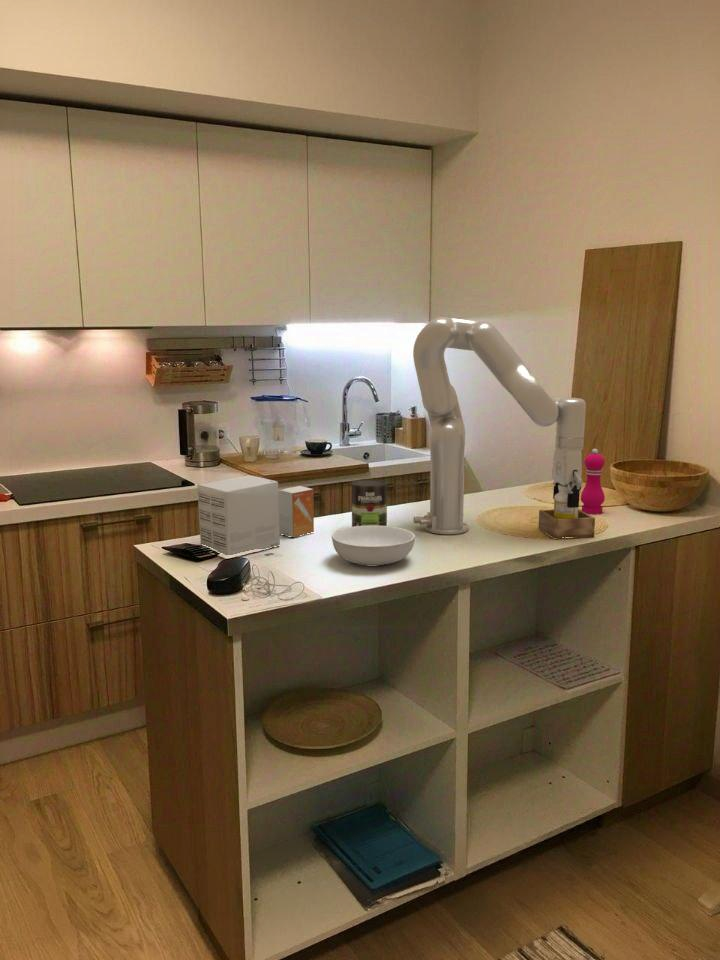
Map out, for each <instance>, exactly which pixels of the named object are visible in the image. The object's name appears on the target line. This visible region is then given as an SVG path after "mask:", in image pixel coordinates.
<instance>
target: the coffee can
mask: <svg viewBox="0 0 720 960" xmlns="http://www.w3.org/2000/svg"><path fill="white" fill-rule="evenodd" d="M350 486H351V527H355V526H367V525H377V526H388V523H387V522H388V519H387V518H388V509H387V508H388V482H387V481H385V480H382V479H375V478H368V479H367V478H365V479H364V478H363V479H362V478H361V479H356V480H352V481H351V482H350Z"/></svg>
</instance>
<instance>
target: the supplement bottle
mask: <svg viewBox="0 0 720 960" xmlns="http://www.w3.org/2000/svg"><path fill="white" fill-rule="evenodd" d="M573 487H574V486H572V488H573ZM558 489H559V493H557V494H556V495H555V497H554V499H553V500H554V501H553V502H554V503H553V510H554V518H556V519H572V518H578V509H579V507H577V508H568V507H567V498H568V493H569V489H568V485H562V484H559V485H558Z"/></svg>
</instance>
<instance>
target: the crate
mask: <svg viewBox="0 0 720 960" xmlns="http://www.w3.org/2000/svg"><path fill="white" fill-rule="evenodd" d="M595 525H596V517H594V516H592V515H591V514H587V513H585V512H583V511H582V509H579V508H578V518H572V519H556V518H554V509H539V511H538V529H539V530H540V529H541V530H542V531H541V530H540V531H541V532H543V531H544V532H546V533H547V534H549V535H550V536H552V537H553V538H562V537H564V538H565V537H574V538H573V539H587V538H589V539H590V538H595ZM544 532H543V533H544ZM547 534H546V535H547ZM550 536H549V537H550ZM575 537H577V538H575ZM578 537H579V538H578ZM553 538H552V539H553Z"/></svg>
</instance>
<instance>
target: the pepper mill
mask: <svg viewBox="0 0 720 960" xmlns="http://www.w3.org/2000/svg"><path fill="white" fill-rule="evenodd" d="M605 464H606V463H605V458H604V456H603V455H602V454H600V453H599V450H598V449H597V448H593V449H592V450H591V453H590V454H587V455H586V457H585V458H584V466H585V467H586V468H585V474H586V482H585V485H584V488H583V489H582V491H581V492H580V502H581V503H582V505H581V511H583V512H585V513H587V514H589V515H599V514H602V513H603V506H602V504H603V503H604V502H605V498H606V497H605V496H606V495H605V493H604V490H603V488H602V487H603V486H602V484H601V475H603V469H602V468H604V466H605Z"/></svg>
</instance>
